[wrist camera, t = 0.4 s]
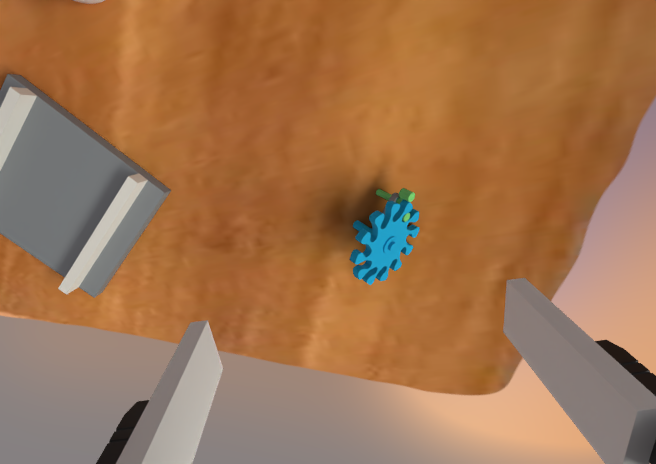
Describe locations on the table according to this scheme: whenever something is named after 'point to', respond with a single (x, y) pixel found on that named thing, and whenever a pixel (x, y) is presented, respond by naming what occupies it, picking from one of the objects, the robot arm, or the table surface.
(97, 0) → the candle holder
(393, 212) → the gear
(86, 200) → the grey tray with rails
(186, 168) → the table surface
